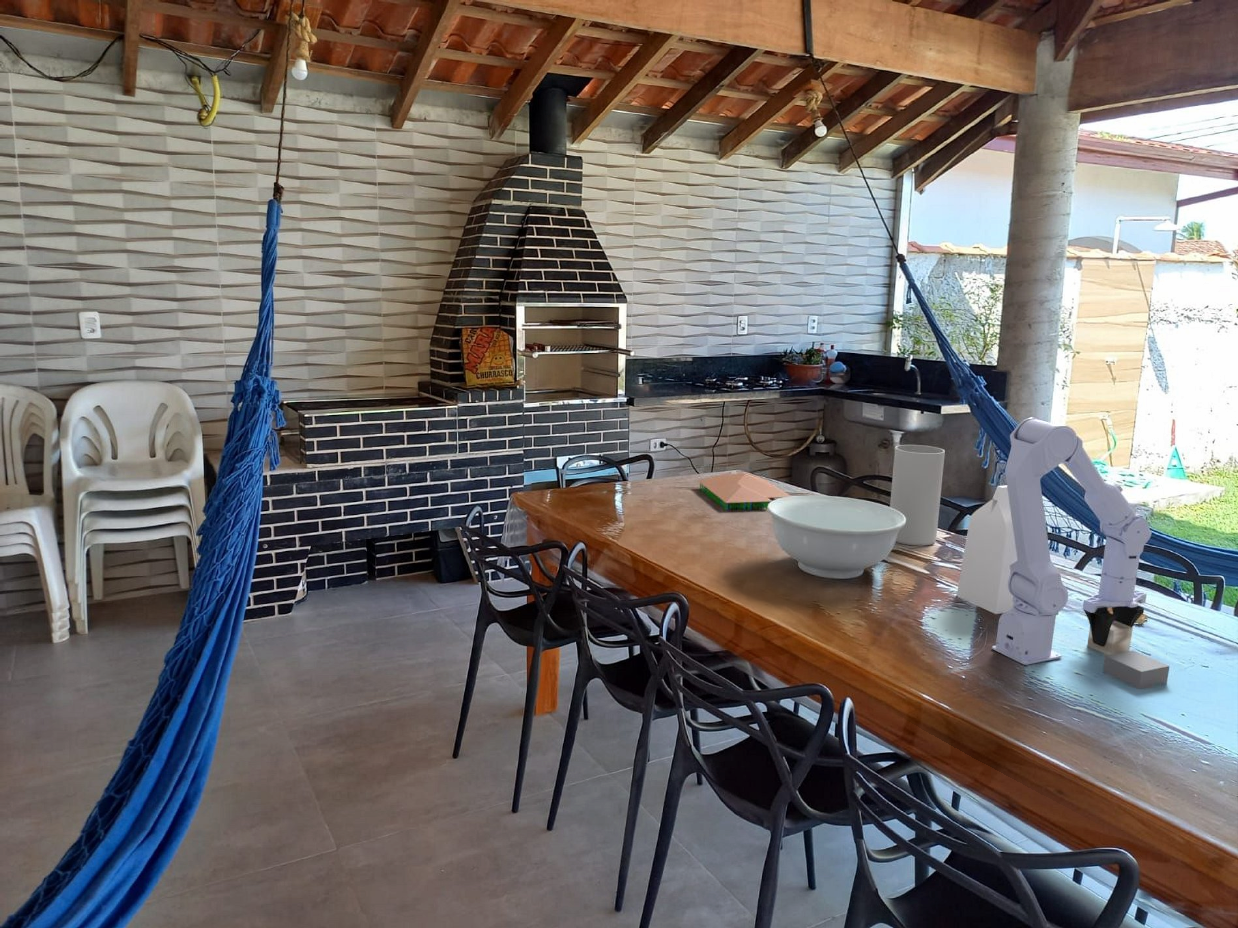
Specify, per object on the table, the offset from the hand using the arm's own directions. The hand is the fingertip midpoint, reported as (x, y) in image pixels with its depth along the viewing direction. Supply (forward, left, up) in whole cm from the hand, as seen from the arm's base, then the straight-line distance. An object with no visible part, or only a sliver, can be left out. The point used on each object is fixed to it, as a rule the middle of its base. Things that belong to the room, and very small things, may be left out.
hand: (1108, 642), depth 165 cm
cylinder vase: (+15, +71, -2) cm, 73 cm away
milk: (0, +27, -2) cm, 27 cm away
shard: (+18, +12, -2) cm, 22 cm away
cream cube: (0, 0, -1) cm, 1 cm away
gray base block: (-7, -10, -2) cm, 12 cm away
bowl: (-21, +58, -2) cm, 62 cm away
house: (-4, +127, -2) cm, 127 cm away
